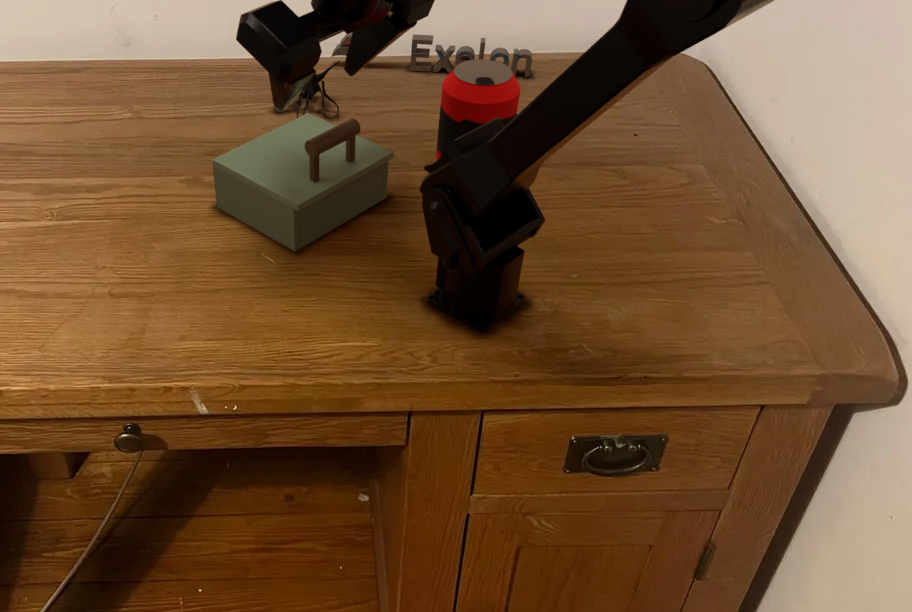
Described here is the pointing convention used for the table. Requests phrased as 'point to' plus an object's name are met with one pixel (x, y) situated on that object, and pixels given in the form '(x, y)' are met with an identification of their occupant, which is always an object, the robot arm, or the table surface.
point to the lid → (304, 160)
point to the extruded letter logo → (448, 54)
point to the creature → (314, 91)
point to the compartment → (306, 223)
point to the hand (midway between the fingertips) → (314, 89)
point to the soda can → (475, 99)
